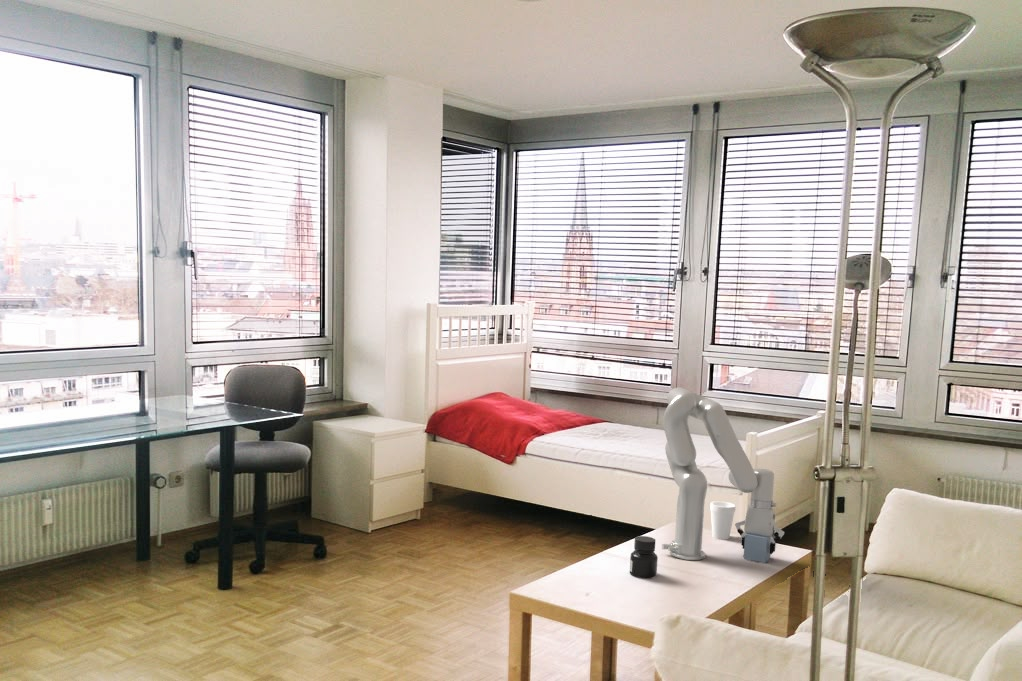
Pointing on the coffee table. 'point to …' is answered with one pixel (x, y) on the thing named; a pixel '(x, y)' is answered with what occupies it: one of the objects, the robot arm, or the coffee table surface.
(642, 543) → the ink bottle
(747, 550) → the blue box
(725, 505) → the foam cup
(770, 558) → the disc
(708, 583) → the coffee table surface
